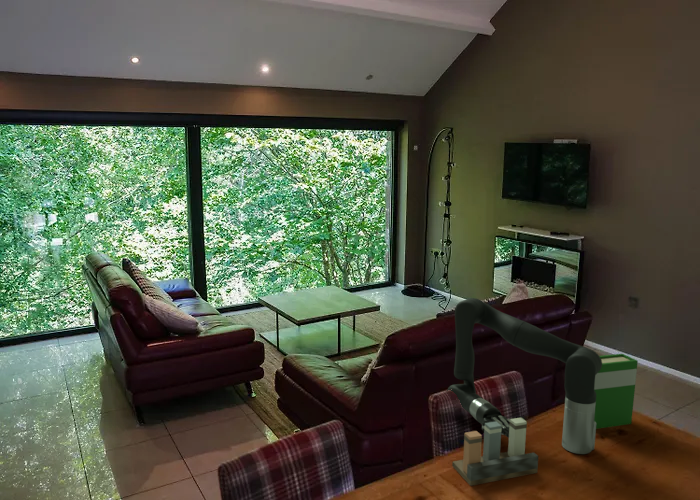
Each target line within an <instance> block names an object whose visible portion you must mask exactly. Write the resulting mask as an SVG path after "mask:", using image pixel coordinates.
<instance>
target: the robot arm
mask: <svg viewBox="0 0 700 500" xmlns="http://www.w3.org/2000/svg"><path fill="white" fill-rule="evenodd" d="M454 322H455V323H454V325H455V357H454V358H455V360H454V367H453V376H454V377H455V378H456V379H458V380H460V381H463V383H457V384H452V385H449V386H448V387H447V390H446V392H447V391H448V390H451V389H452V390H451V391H453V392H454V393H455V394H456V395H457V397H458V399H459V400H460V403H461V405H462V407H463V408H464V409H465V411H467V412H468V413H469V414H470V415H471V416H472V417H473V418H474V419H475V420H476V421H477V422H478V423H479V424H481V430H482V431H483V432H484V426H485V423H489V422H497V423H499V424H500V425H501V426H502V427H501V428H502V431H501V436H502V435H503V436H505V437H506V438H508V439H509V427H510V425H509V424H510V419H515V418H516V417H511V418H507V417H506V416H504V415H502V412H501V410H499V409H498V408H497V407H496V406H494V405H493V404H492V403H491V402H489V401H488V400H486V399H484V398H483V397H481V396H480V395H479V394H477V391H476V386H475V377H474V371H475V369H474V368H475V361H476V360H475V351H474V350H475V349H474V345H473V331H474V327H475V324H479V325H482V326H485V327H487V328H489V329H492V330H493V331H494V332H496V333H497V334H498V335H499V336H501V338H503V340H504V341H506V342H507V343H509V344H510V345H512V346H513V347H516V348H518V349H520V350H522V351H524V352H527V353H530V354H533V355H538V356H543V357H548V358H552V359H556V360H559V361H560V362H562V363H564V364H565V367H564V391H565V398H564V409H563V410H564V411H563V412H564V413H563V425H562V438H561V446H562V448H563V449H565V450H566V451H569V452H570V453H573V454H577V455H587V454H591V452H592V451H594V450H595V443H596V432H597V429H596V422H595V421H594V418H595V406H596V392H595V391H594V387H595V375H596V374H597V373H598V372H599V371H600V369H601V367H602V360H601V358H600V356H601V355H599V354H598V353H597V352H596V351H595V350H593V349H591V348H588V347H585V346H583V345H580V344H577V343H573V342H570V341H569V340H566V339H562V338H561V337H558V336H557V335H554V334H552V333H550V332H548V331H546V330H544V329H542V328H541V327H540V328H539V327H537V326H536V325H533V324H531V323H529V322H527V321H524V320H522V319H519V318H517V317H515V316H512V315H510V314H507V313H505V312H502V311H501V310H498V309H496V308H495V307H493V306H491V305H489V304H488V303H486V302H485V301H483V300H481V299H479V298H474V297H471V298H466V299H463V300H461V301H459V302H458V303H457V304H456V306H455V308H454ZM464 409H463V410H464Z"/></svg>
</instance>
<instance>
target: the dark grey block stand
mask: <svg viewBox="0 0 700 500" xmlns="http://www.w3.org/2000/svg"><path fill="white" fill-rule="evenodd" d="M451 464H452V465H451V466H452V468H453V469H454V470H456V472H457V473H458V475H460V476H461V477H462V479H463V480H464V481H465V482H467V485H469V486H471V487H472V486H477V485H482V484H487V483H491V482H497V481H503V480H506V479H512V478H518V477H524V476H528V475H533V474H537V473H538V467H539V455H538V454H537V453H535V452H529V453H528V452H527V453H525V454H523V455H517V456H512V457H510V456H509V455H508V451H504V452H500V459H495V460H490V461H484V460H483V455H481V461H480V462H479V463H473V464H467V474H466V473H465V472H464V471H463V459H459V460H454V461H452V463H451Z"/></svg>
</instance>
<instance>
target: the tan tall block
mask: <svg viewBox="0 0 700 500" xmlns="http://www.w3.org/2000/svg"><path fill="white" fill-rule="evenodd" d="M463 436H464V437H463V440H464V441H463V456H462V457H463V459H462V460H463V471H464V472H465V473H466V474H467V464H473V463H479V462H480V461H481V456H482V443H483V437H482V436H483V435H482V434H481V433H480V432H478V431H477V430H472V431H468V432H464V435H463Z"/></svg>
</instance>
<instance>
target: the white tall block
mask: <svg viewBox="0 0 700 500" xmlns="http://www.w3.org/2000/svg"><path fill="white" fill-rule="evenodd" d="M514 418H515V419H511V418H509V419H510V424H508V425H510V427H509V438H508V447H507V452H508V455H509V456H510V457H512V456H517V455H523V454H526V453H525V452H526V436H527V427H528V422H527V420H525V419H524V418H523V417H517V418H516V417H514Z"/></svg>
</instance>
